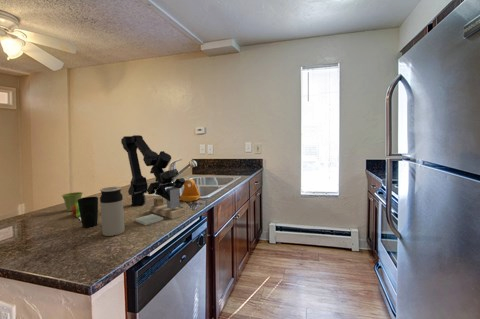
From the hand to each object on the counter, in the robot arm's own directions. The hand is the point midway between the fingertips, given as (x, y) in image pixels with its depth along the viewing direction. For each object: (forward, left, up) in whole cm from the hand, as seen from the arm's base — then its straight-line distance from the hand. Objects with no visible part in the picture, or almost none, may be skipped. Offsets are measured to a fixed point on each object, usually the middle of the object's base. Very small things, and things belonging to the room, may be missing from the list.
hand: (174, 199), depth 123 cm
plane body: (-5, +5, -8) cm, 11 cm away
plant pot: (-57, +19, -8) cm, 61 cm away
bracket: (+3, +31, -8) cm, 32 cm away
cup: (-35, -9, -8) cm, 37 cm away
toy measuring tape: (-46, +5, -8) cm, 47 cm away
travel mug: (-21, -19, -8) cm, 29 cm away
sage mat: (-11, -5, -8) cm, 14 cm away
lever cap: (-1, +1, -4) cm, 4 cm away
